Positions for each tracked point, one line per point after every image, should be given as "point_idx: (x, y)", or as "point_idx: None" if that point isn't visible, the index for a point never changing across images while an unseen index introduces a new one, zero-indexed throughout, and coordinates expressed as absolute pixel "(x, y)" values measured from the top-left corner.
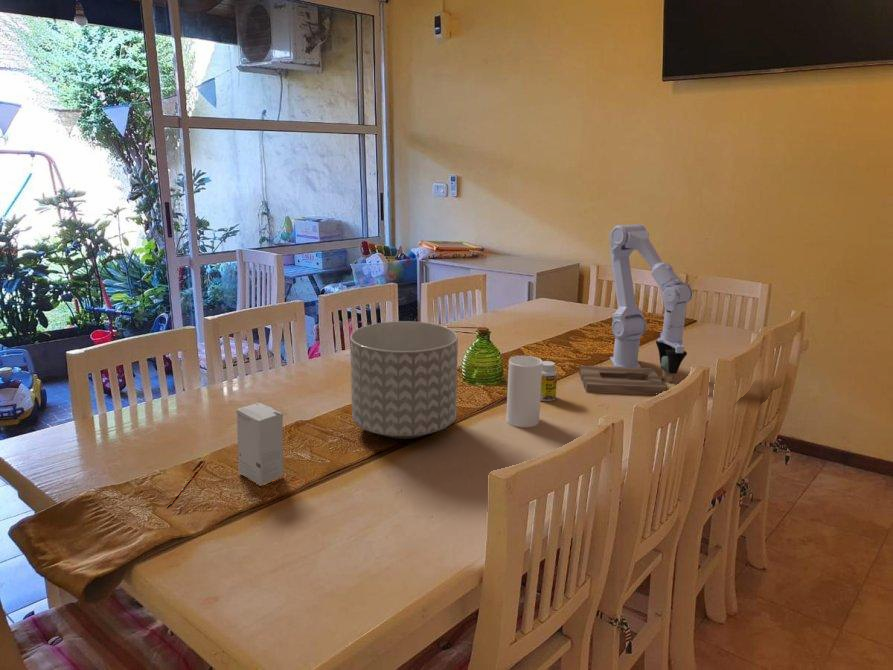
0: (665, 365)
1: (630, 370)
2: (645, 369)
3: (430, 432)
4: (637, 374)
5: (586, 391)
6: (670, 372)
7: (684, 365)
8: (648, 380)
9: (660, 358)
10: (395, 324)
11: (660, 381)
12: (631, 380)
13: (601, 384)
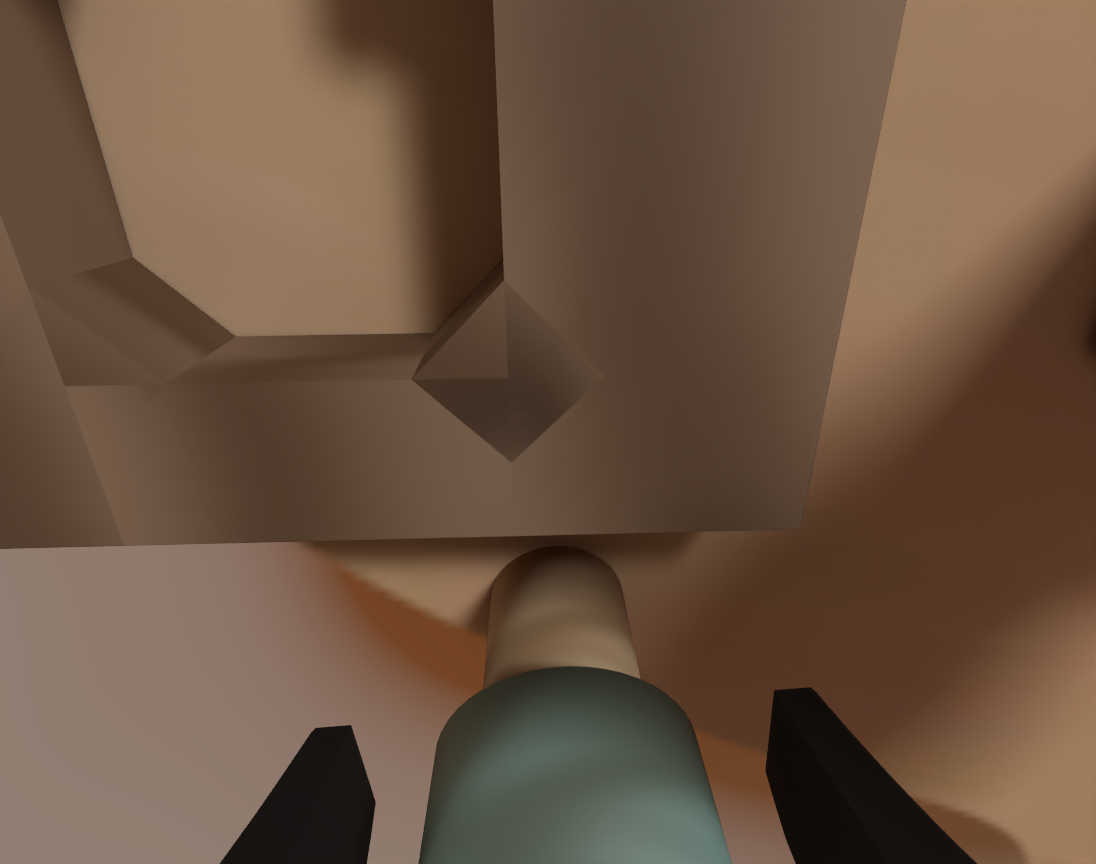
0: (452, 785)
1: (660, 15)
2: (732, 393)
3: None
4: (502, 174)
5: None
6: (303, 755)
7: (1063, 831)
8: (44, 318)
9: (839, 793)
10: None
11: (91, 519)
12: None
13: None
